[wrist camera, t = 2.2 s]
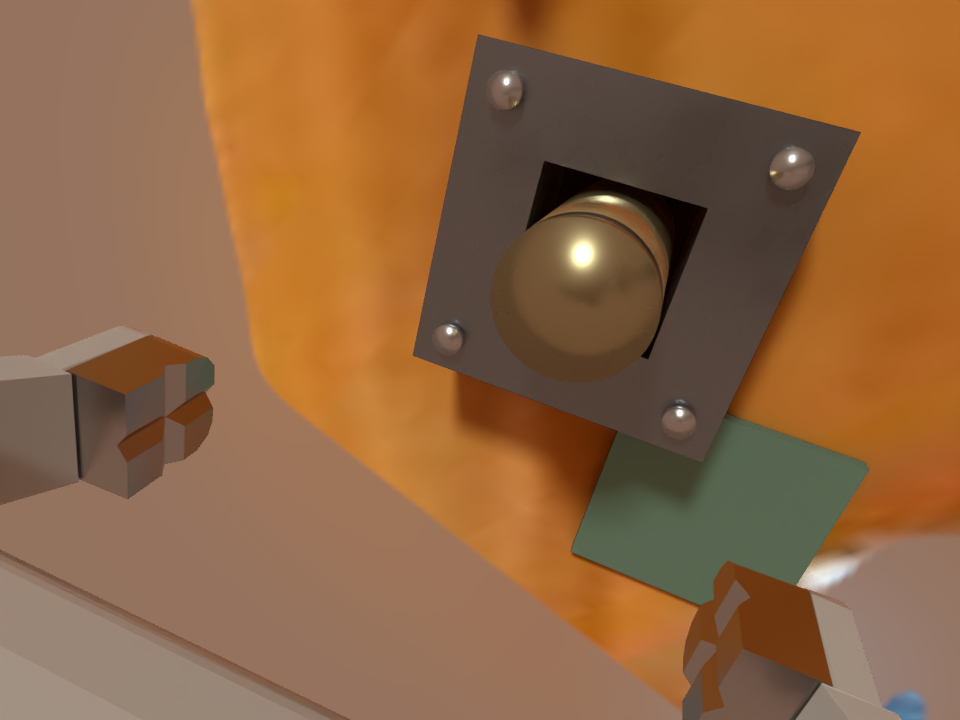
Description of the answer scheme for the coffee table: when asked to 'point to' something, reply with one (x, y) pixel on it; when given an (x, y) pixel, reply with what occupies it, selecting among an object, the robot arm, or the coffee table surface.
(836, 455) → the coaster
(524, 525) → the coffee table surface
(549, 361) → the plug
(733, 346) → the housing
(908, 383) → the coffee table surface
